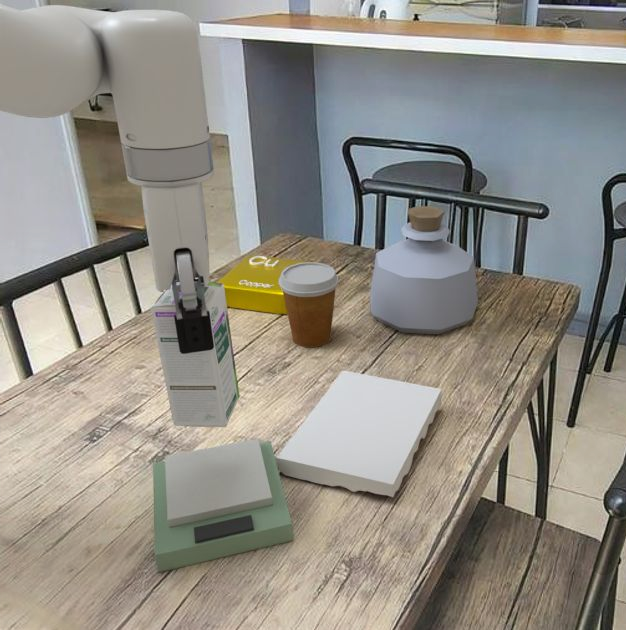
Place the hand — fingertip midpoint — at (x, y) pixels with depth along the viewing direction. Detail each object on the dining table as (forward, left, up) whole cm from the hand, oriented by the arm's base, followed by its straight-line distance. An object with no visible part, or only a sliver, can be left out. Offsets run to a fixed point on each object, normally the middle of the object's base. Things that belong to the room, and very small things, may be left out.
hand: (194, 330), depth 70 cm
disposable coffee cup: (+18, +34, -23) cm, 45 cm away
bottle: (+39, +38, -23) cm, 59 cm away
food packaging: (+19, +5, -23) cm, 30 cm away
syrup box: (0, 0, -10) cm, 10 cm away
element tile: (+14, +53, -23) cm, 60 cm away
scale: (0, -2, -23) cm, 23 cm away
